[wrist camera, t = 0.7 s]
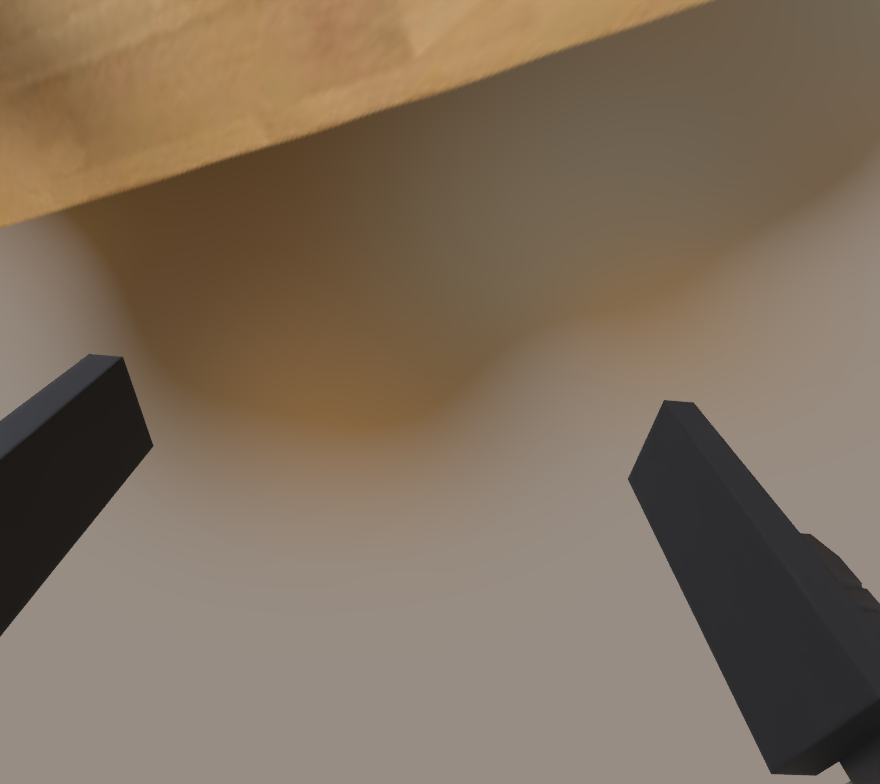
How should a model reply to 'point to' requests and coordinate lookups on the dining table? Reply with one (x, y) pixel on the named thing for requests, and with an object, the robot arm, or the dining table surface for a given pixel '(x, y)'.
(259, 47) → the dining table surface
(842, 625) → the robot arm
